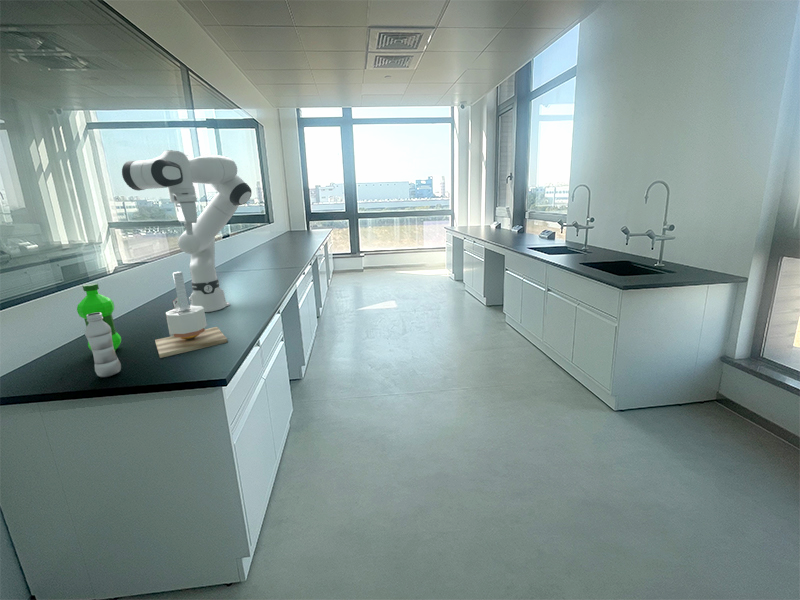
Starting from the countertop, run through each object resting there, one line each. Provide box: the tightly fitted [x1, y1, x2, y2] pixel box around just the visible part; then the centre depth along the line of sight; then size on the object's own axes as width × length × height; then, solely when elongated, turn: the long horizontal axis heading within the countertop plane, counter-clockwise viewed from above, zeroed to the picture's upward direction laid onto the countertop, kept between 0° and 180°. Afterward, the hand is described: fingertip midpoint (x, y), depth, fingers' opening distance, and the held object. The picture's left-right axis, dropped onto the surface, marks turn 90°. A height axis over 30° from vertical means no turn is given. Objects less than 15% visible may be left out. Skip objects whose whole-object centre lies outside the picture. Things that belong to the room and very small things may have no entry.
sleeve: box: [165, 305, 208, 334], centre depth 145 cm, size 12×12×7 cm
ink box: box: [165, 297, 180, 337], centre depth 155 cm, size 4×8×15 cm, turn 17°
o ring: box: [174, 328, 206, 337], centre depth 146 cm, size 10×10×2 cm
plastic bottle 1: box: [76, 283, 122, 352], centre depth 140 cm, size 10×10×25 cm
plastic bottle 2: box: [84, 312, 122, 378], centre depth 120 cm, size 6×7×20 cm
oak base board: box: [154, 326, 228, 359], centre depth 147 cm, size 18×22×2 cm
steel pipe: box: [172, 271, 199, 341], centre depth 144 cm, size 6×6×26 cm
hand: (189, 234), depth 149 cm, fingers closed
